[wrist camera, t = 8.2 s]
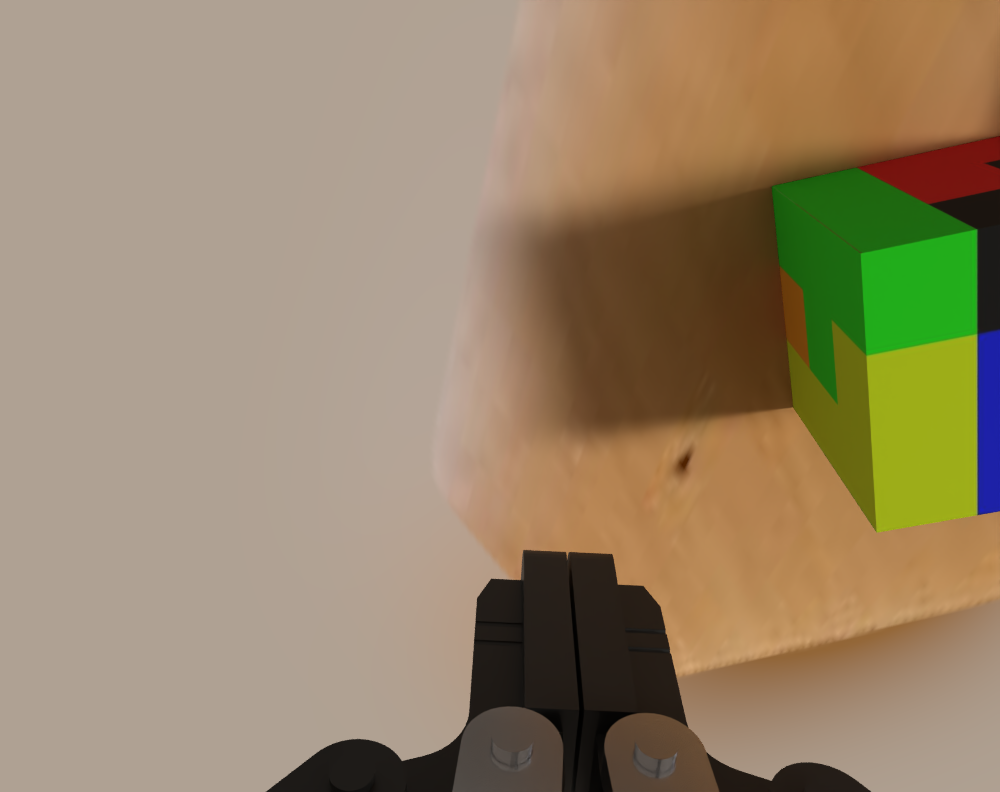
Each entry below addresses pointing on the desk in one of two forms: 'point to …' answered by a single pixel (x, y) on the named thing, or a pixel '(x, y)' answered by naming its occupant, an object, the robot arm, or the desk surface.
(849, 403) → the puzzle toy
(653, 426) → the desk surface
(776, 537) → the desk surface
